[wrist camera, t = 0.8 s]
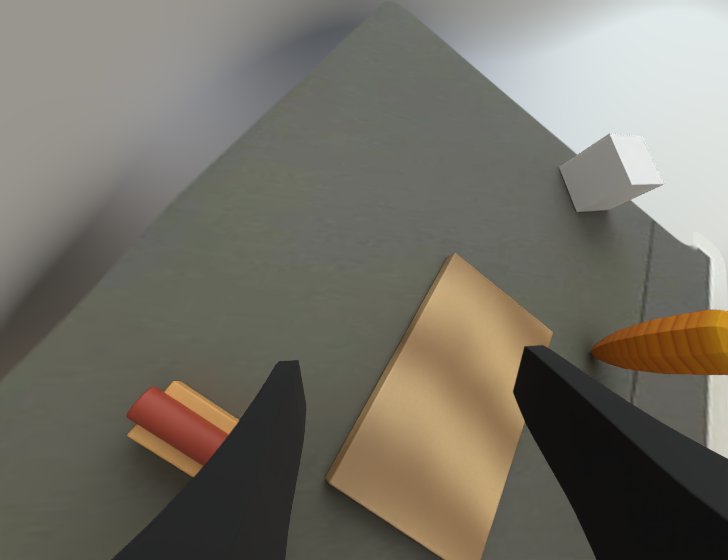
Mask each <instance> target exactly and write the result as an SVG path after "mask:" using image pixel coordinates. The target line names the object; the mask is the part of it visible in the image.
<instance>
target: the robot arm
mask: <svg viewBox="0 0 728 560" xmlns="http://www.w3.org/2000/svg"><path fill="white" fill-rule="evenodd" d="M513 394H514V397H515V399H516V402H517V404H518V407H519V409H520V412H521V414H522V416H523V419H524V421H525V423H526V425H527V427H528V429H529V430H530V432H531V434H532V436H533V438H534V439H535V441H536V443H537V445H538V447H539V448H540V450H541V452H542V454H543V455H544V457H545V459H546V461H547V462H548V464H549V466H550V468H551V469H552V471H553V473H554V475H555V477H556V478H557V480H558V482H559V484H560V485H561V487H562V489H563V491H564V492H565V494H566V496H567V498H568V500H569V502H570V504H571V506H572V508H573V509H574V511H575V513H576V516H577V518H578V520H579V522H580V524H581V526H582V529H583V531H584V533H585V535H586V537H587V540H588V542H589V544H590V546H591V548H592V550H593V553H594V555H595V557H596V560H728V459H727V458H725V457H723V456H721V455H719V454H717V453H716V452H714V451H712V450H710V449H708V448H706V447H704V446H703V445H701V444H699V443H697V442H695V441H693V440H692V439H690V438H688V437H686V436H684V435H683V434H681V433H679V432H677V431H675V430H674V429H672V428H670V427H669V426H667V425H665V424H663V423H662V422H660V421H658V420H657V419H655V418H653V417H652V416H650V415H649V414H647V413H645V412H644V411H642V410H640V409H639V408H637V407H636V406H634V405H632V404H631V403H629V402H628V401H626V400H625V399H623V398H621V397H620V396H618V395H617V394H615V393H614V392H612V391H611V390H609V389H608V388H606V387H605V386H603V385H602V384H600V383H599V382H597V381H596V380H594V379H593V378H592V377H590V376H589V375H587V374H586V373H584V372H583V371H581V370H580V369H578V368H577V367H575V366H574V365H573V364H571V363H570V362H568V361H567V360H565V359H564V358H562V357H561V356H559V355H558V354H556V353H555V352H553V351H552V350H550V349H549V348H547V347H546V346H544V345H535V346H524V350H523V354H522V358H521V361H520V365H519V369H518V373H517V377H516V381H515V385H514V389H513ZM305 418H306V401H305V395H304V389H303V384H302V378H301V372H300V366H299V361H298V360H295V361H279V362H278V363H277V364H276V365H275V367H274V369H273V370H272V372H271V374H270V375H269V377H268V379H267V380H266V382H265V383H264V385H263V387H262V388H261V390H260V391H259V393H258V394H257V396H256V397H255V399H254V400H253V402H252V403H251V405H250V406H249V407H248V409H247V410H246V412H245V413H244V415H243V416H242V417H241V419H240V420H239V422H238V423H237V424H236V426H235V427H234V428H233V430H232V431H231V432H230V433H229V435H228V436H227V437H226V439H225V440H224V441H223V443H222V444H221V445H220V446H219V448H218V449H217V450H216V451H215V453H214V454H213V455H212V456H211V458H210V459H209V460H208V461H207V462H206V464H205V465H204V466H203V467H202V468H201V469H200V470H199V472H198V473H197V474H196V475H195V476H194V477H193V478H192V480H191V481H190V482H189V483H188V484H187V485H186V486H185V487H184V488H183V489H182V490H181V492H180V493H179V494H178V495H177V496H176V497H175V498H174V499H173V500H172V501H171V502H170V503H169V504H168V505H167V506H166V507H165V508H164V509H163V511H162V512H161V513H160V514H159V515H158V516H157V517H156V518H155V519H154V520H153V521H152V522H151V523H150V524H149V525H148V526H147V527H146V528H145V529H144V530H142V531H141V532H140V533H139V534H138V535H137V536H136V537H135V538H134V539H133V540H132V541H131V542H130V543H129V544H128V545H126V546H125V547H124V548H123V549H122V550H121V551H120V552H119V553H118V554H117V555H116V556H115V557H114V558H113V559H112V560H285V556H286V545H287V535H288V528H289V521H290V514H291V509H292V503H293V498H294V492H295V486H296V481H297V475H298V470H299V464H300V458H301V453H302V447H303V441H304V432H305Z"/></svg>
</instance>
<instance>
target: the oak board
mask: <svg viewBox="0 0 728 560" xmlns="http://www.w3.org/2000/svg"><path fill="white" fill-rule="evenodd" d="M552 335H553V332H552V331H551V330H549V329H548V328H547V327H546V326H545V325H543V324H542V323H541V322H540V321H538V320H537V319H536V318H535V317H534V316H532V315H531V314H530V313H529V312H527V311H526V310H525V309H524V308H522V307H521V306H520V305H519V304H518V303H516V302H515V301H514V300H513V299H511V298H510V297H509V296H508V295H507V294H505V293H504V292H503V291H502V290H500V289H499V288H498V287H497V286H495V285H494V284H493V283H492V282H491V281H489V280H488V279H487V278H486V277H484V276H483V275H482V274H481V273H480V272H478V271H477V270H476V269H475V268H473V267H472V266H471V265H470V264H469V263H467V262H466V261H465V260H464V259H462V258H461V257H460V256H459V255H457V254H456V253H454V254H452V255H450V256H449V257H447V259H446V261H445V263H444V265H443V266H442V268H441V270H440V272H439V274H438V275H437V277H436V279H435V281H434V283H433V284H432V286H431V288H430V290H429V292H428V293H427V295H426V297H425V299H424V301H423V302H422V304H421V306H420V308H419V310H418V311H417V313H416V315H415V317H414V319H413V320H412V322H411V324H410V326H409V328H408V329H407V331H406V333H405V335H404V337H403V338H402V340H401V342H400V344H399V346H398V347H397V349H396V351H395V353H394V355H393V356H392V358H391V360H390V362H389V364H388V365H387V367H386V369H385V371H384V373H383V374H382V376H381V378H380V380H379V382H378V383H377V385H376V387H375V389H374V391H373V392H372V394H371V396H370V398H369V400H368V401H367V403H366V405H365V407H364V409H363V410H362V412H361V414H360V416H359V418H358V419H357V421H356V423H355V425H354V427H353V428H352V430H351V432H350V434H349V436H348V437H347V439H346V441H345V443H344V445H343V446H342V448H341V450H340V452H339V454H338V455H337V457H336V459H335V461H334V463H333V464H332V466H331V468H330V470H329V472H328V473H327V475H326V477H325V479H326V481H327V482H328V483H329V484H330V485H332V486H333V487H335V488H336V489H338V490H339V491H341V492H342V493H344V494H345V495H347V496H348V497H350V498H351V499H353V500H355V501H356V502H358V503H359V504H361V505H362V506H364V507H365V508H367V509H368V510H370V511H371V512H373V513H374V514H376V515H377V516H379V517H380V518H382V519H383V520H385V521H386V522H388V523H389V524H391V525H392V526H394V527H395V528H397V529H398V530H400V531H401V532H403V533H404V534H406V535H407V536H409V537H410V538H412V539H413V540H415V541H416V542H418V543H419V544H421V545H422V546H424V547H426V548H427V549H429V550H430V551H432V552H433V553H435V554H436V555H438V556H439V557H441V558H442V559H444V560H481V557H482V554H483V551H484V548H485V545H486V541H487V538H488V535H489V532H490V529H491V526H492V523H493V520H494V516H495V513H496V510H497V507H498V504H499V501H500V498H501V494H502V491H503V488H504V485H505V482H506V479H507V476H508V473H509V469H510V466H511V463H512V460H513V457H514V454H515V451H516V447H517V444H518V441H519V438H520V435H521V432H522V429H523V426H524V422H525V421H524V419H523V416H522V414H521V412H520V409H519V407H518V404H517V402H516V399H515V397H514V394H513V389H514V385H515V381H516V377H517V373H518V369H519V365H520V361H521V358H522V354H523V350H524V346H535V345H544V346H546V347H547V348H548V347H549V344H550V341H551V338H552Z"/></svg>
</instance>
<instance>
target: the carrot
mask: <svg viewBox="0 0 728 560" xmlns="http://www.w3.org/2000/svg"><path fill="white" fill-rule="evenodd" d="M591 354H592V355H593V356H594V357H595V358H596V359H599V360H601V361H603V362H606V363H608V364H611V365H614V366H618V367H621V368H624V369H631V370H638V371H645V372H653V373H662V374H694V375H728V311H723V310H703V311H698V312H692V313H686V314H681V315H675V316H670V317H665V318H660V319H655V320H650V321H647V322H643V323H640V324H637V325H634V326H631V327H628V328H625V329H622V330H619V331H617V332H615V333H613V334H611V335H609V336H608V337H606V338H604V339H603V340H601V341H600V342H599V343H598V344H596V345H595V346H594V347H593V349H592V350H591Z"/></svg>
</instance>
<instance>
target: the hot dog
mask: <svg viewBox="0 0 728 560" xmlns="http://www.w3.org/2000/svg"><path fill="white" fill-rule="evenodd" d="M126 417H127V418H128V419H130V420H131V421H133V422H135V423H136V425H135V426H134V427H133V429H132V430H131V431H130V432H129V433H128V435H127V436H128V437H129V438H131V439H133V440H134V441H136V442H137V443H139V444H141V445H142V446H144V447H145V448H147V449H149V450H150V451H152V452H153V453H155V454H157V455H158V456H160V457H161V458H163V459H165V460H166V461H168V462H169V463H171V464H173V465H174V466H176V467H177V468H179V469H181V470H182V471H184V472H185V473H187V474H188V475H190V476H192V477H194V476H195V475H196V474H197V473H198V472H199V470H200V469H201V468H202V467H203V466H204V465H205V464H206V462H207V461H208V460H209V459H210V458H211V456H212V455H213V454H214V453H215V451H216V450H217V449H218V448H219V446H220V445H221V444H222V443H223V441H224V440H225V439H226V437H227V436H228V435H229V433H230V432H231V431H232V430H233V428H234V427H235V426H236V424H237V423H238V422H239V420H238V419H237V418H235V417H234V416H232V415H231V414H229V413H228V412H226V411H225V410H223V409H222V408H220V407H219V406H217V405H216V404H214V403H213V402H211V401H210V400H208V399H206V398H205V397H203V396H202V395H200V394H199V393H197V392H196V391H194V390H193V389H191V388H190V387H188V386H187V385H185V384H184V383H182V382H181V381H173V382H172V383H171V384H170V386H169V387H168V388H167V389H166V390H165V391H164V392H163V391H162V390H160V389H159V388H157V387H155V386H153V387H151V388H150V389H148V390H147V391H146V392H145V393H144V394H143V395H142V396H141V397H140V398H139V399H138V400H137V401H136V402H135V404H134V405H133V406H132V407H131V408H130V410H129V411H128V413H127V415H126Z"/></svg>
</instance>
